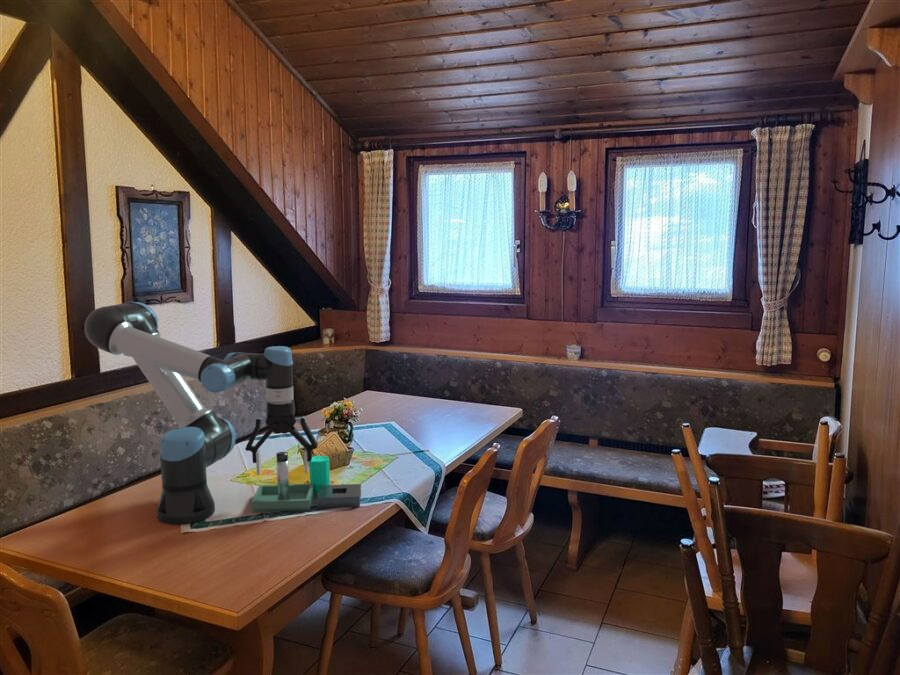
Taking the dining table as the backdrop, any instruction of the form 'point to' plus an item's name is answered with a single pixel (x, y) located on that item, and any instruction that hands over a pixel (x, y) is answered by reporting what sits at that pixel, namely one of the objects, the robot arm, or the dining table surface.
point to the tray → (269, 500)
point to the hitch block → (339, 496)
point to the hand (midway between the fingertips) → (283, 472)
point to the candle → (319, 472)
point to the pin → (282, 476)
